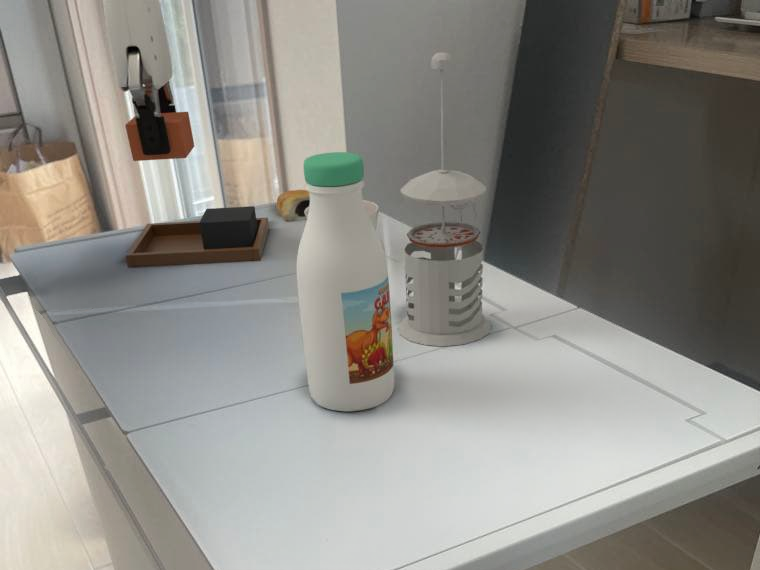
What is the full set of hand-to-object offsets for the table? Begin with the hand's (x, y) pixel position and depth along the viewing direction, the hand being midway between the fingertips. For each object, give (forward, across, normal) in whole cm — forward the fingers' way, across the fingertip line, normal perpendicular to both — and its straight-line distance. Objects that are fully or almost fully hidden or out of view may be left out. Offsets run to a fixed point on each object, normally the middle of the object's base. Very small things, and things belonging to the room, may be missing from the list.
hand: (162, 146), depth 103 cm
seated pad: (+13, 0, +6) cm, 14 cm away
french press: (+13, +28, +32) cm, 45 cm away
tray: (+13, 0, +2) cm, 13 cm away
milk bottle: (+13, +43, +22) cm, 51 cm away
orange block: (+1, 0, 0) cm, 1 cm away
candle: (+13, +6, +21) cm, 26 cm away
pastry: (+13, -15, +14) cm, 25 cm away
